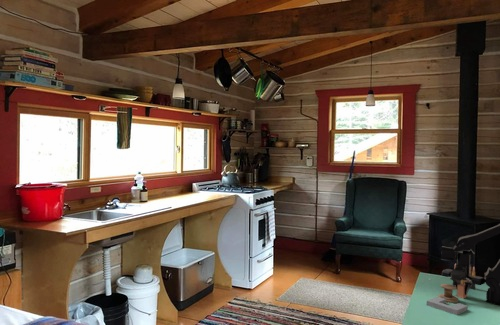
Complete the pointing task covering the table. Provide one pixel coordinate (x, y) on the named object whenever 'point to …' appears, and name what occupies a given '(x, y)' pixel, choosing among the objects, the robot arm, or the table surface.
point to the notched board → (447, 306)
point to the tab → (461, 291)
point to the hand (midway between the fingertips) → (462, 293)
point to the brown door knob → (448, 293)
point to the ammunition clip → (466, 279)
